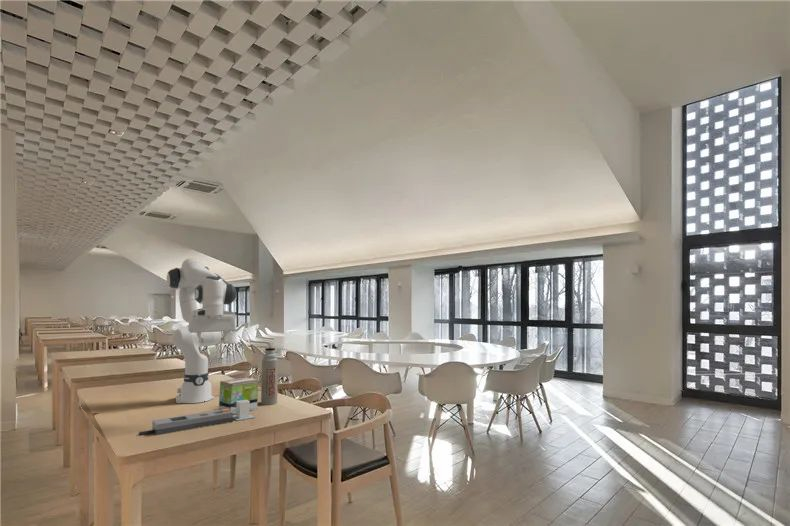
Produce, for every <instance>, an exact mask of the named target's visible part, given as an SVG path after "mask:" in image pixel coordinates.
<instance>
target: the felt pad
mask: <svg viewBox="0 0 790 526" xmlns="http://www.w3.org/2000/svg"><path fill="white" fill-rule="evenodd" d="M255 417H256V416H253V415H252V414H251V413H249V417H247V418H241V419H239V418H238V417H236V415H233V420H234V419H235V420H234V421H236V420H237V421H236V422H239V421H238V420H241V421H245V419H247V420H252V419H251V418H253V419H255Z"/></svg>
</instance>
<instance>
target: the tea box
mask: <svg viewBox="0 0 790 526" xmlns="http://www.w3.org/2000/svg"><path fill="white" fill-rule="evenodd" d="M258 389H259V379H258V378H257V379H256V378H253V377H239V378H235V379H226V380H220V382H219V398H218V399H219V403H218V410H223V409H230V411H231V412H232V413H233V415H236V405H237V401H240V400H248V401H250V408H249V412H250V410H251V411H256V410H257V409H258V400H259V399H258V397H259V396H258V395H259V394H258V392H259V390H258ZM255 409H256V410H255Z"/></svg>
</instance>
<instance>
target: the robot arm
mask: <svg viewBox="0 0 790 526" xmlns="http://www.w3.org/2000/svg"><path fill="white" fill-rule="evenodd" d="M166 283H167V284H168V286H169V287H170V288H172V289H179V293H178V296H179V297H178V299H179V307H180V311H181V312H180V313H181V317H182V319H183V321H185V322H187V323H188V326H184V327H181V328H177V329H175V330H174V331H173V333H172V337H171V339H172V343H173V345H174V347H176V349H179V350H180V352H181V353H182V355H183V357H184V358H183V359H184V366H185V367H184V368H185V369H184V370H185V371H184V372H185V373H184V374H183V382H182V384H181V385H180V387H179V388H177V392H176V393H177V394H178V395H175V403H176V404H198V403H203V402H204V401H205V402H208V401H210V400H212V399H215V396H214V395H212V383H211V382H210V381H209V376H210V374H209V372H208V371H209V369H208V368H209V359H208V357H207V356H206V355H205V354H203V353H201V352H200V349H199V348H201V347H202V348H203V347H210V346H214V345H217V344H219V342H225V341H226V338H227V336H228V334H229V333H228V332H235V330H236V329H237V328H236V326H237V325H236V317H237V316H236V312H234V311H232V310H230V311H228V310H227V311H226V310H224V305H231V304H232V303H234V302H235V300H236V298H237V290H236V288H235V286H234V285H233V284H231V283H228V282H227V281H226V280H224V279H223V278H222V277H221V276H220V275H219V274H217V273H215V272H214V271H211V270H210V268H209V267H208V266H205V265H204V264H203V262H201V261H200V260H198V259H196V258H194V257H189V258H186V259H185V260H183V262H182V263H181V267H174V268H171V269H170V270H168V272H167V274H166ZM222 334H223V336H222Z"/></svg>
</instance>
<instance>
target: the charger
mask: <svg viewBox="0 0 790 526" xmlns="http://www.w3.org/2000/svg"><path fill="white" fill-rule="evenodd" d="M249 408H250V401H248V400H240V401H237V405H236V414H235V416H236V417H238V418H239V419H241V418H247V417H249V414H250V411H249Z"/></svg>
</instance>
